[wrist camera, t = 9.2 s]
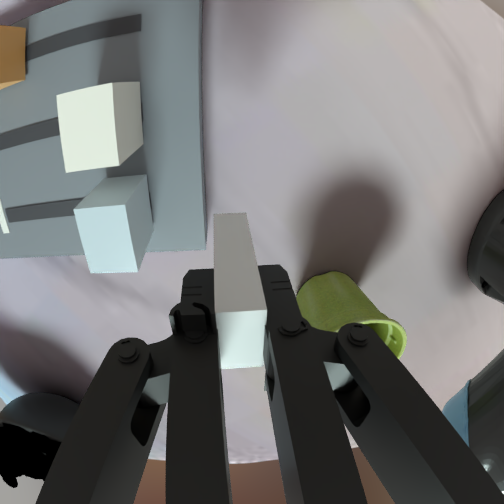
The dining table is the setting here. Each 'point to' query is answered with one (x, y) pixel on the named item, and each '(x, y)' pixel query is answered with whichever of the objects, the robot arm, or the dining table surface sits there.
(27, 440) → the bowl of black rocks
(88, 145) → the slider cream
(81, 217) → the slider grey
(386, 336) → the plant pot
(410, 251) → the dining table surface
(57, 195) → the panel
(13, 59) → the slider orange
